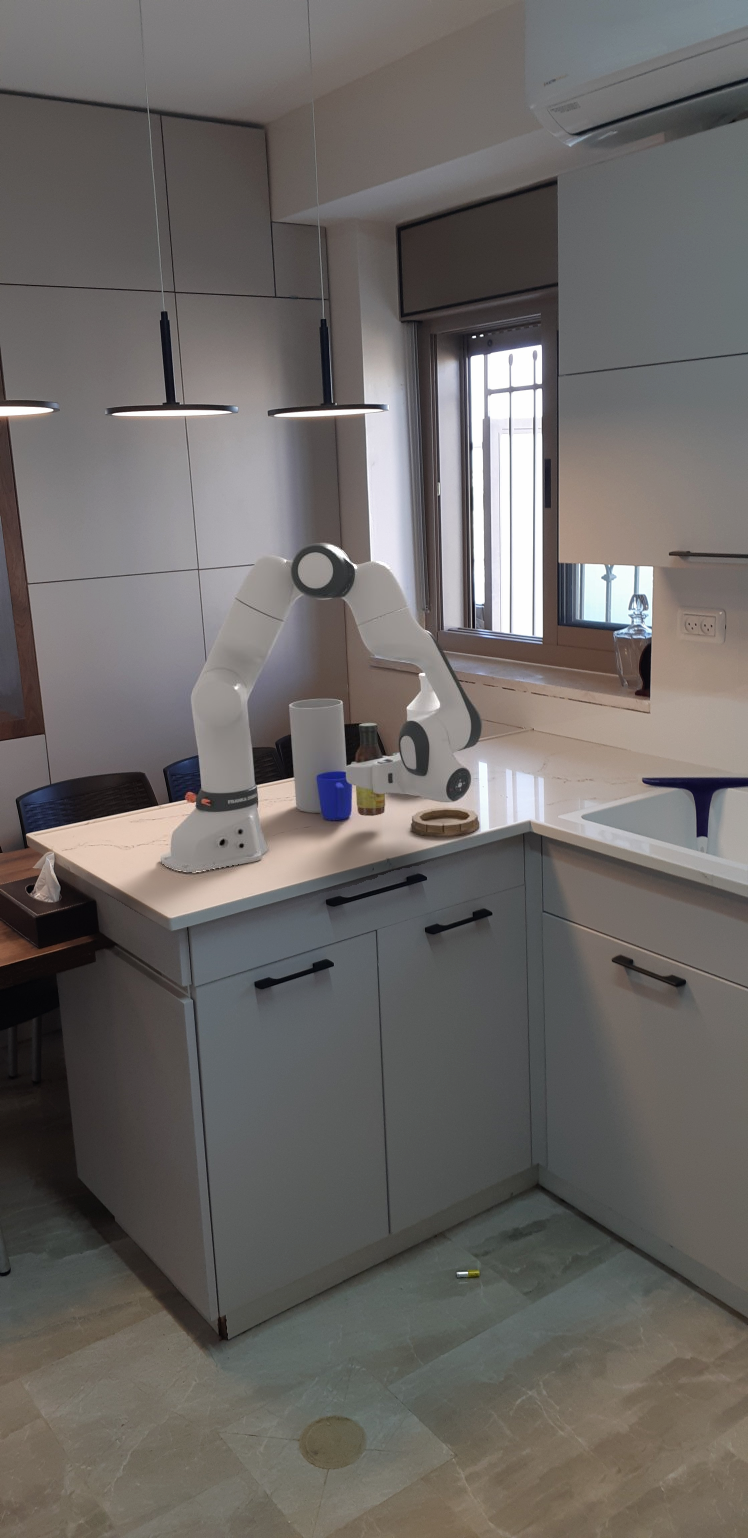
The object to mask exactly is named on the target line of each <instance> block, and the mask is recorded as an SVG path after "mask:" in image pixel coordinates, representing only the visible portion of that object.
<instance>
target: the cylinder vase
mask: <svg viewBox="0 0 748 1538" xmlns="http://www.w3.org/2000/svg"><path fill="white" fill-rule="evenodd" d="M343 704H344V703H343V701H342V700H339V699H334V698H314V699H312V698H311V699H305V700H299V701H294V702H292V703H290V704H289V705H288V706H289V708H288V709H289V710H288V711H289V722H290V735H291V736H290V737H291V751H292V765H293V779H294V794H295V806H296V808H297V810H299V811H301V812H303V813H309V814H322V813H321V807H320V800H319V793H318V786H317V779H316V777H317V775H319V774H322V773H326V772H334V771H343V772H346V767H347V755H346V754H347V753H346V737H345V721H344V719H345V718H344V705H343Z"/></svg>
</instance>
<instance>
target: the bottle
mask: <svg viewBox="0 0 748 1538" xmlns="http://www.w3.org/2000/svg"><path fill="white" fill-rule="evenodd" d="M418 680H419V682H420V684H419V685H420V691H419V692H418V694H417V695H416V696H415V698H413V700H412V701H411V702H410V703H409V704H408V705H407V707H406V719H407V721H409V720H411V719H414V718H416V717H418V716H420V715H423V714H426V713H429V712H431V711H433V710H436V709H438V708H439V707H440V703H439V700H438V698H437V696H436V694H435V693H434V691H433V689H432V687H431V685H430V683H429V681H428V679H427V677H426V675H425V674H424V672H422V673H419V674H418ZM407 721H406V722H407Z"/></svg>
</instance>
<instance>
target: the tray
mask: <svg viewBox="0 0 748 1538" xmlns="http://www.w3.org/2000/svg"><path fill="white" fill-rule="evenodd" d="M479 828H480V821H479V815H478V814H477V813H476V812H475V811H474V810H471V809H470V810H469V809H466V808H461V807H459V808H458V807H438V808H431V809H426V810H421V811H419V812H416V813H415V814H413V816H411V823H410V830H411V832H413V833H415V834H418V835H421V836H426V837H432V836H433V837H434V838H435V837H436V838H441V837H442V838H449V837H458V836H464V835H467V834H468V835H469V834H471V833H474V832H476V831H477V830H478V829H479ZM475 830H476V831H475ZM473 831H474V832H473ZM433 837H432V838H433Z"/></svg>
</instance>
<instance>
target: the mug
mask: <svg viewBox="0 0 748 1538" xmlns="http://www.w3.org/2000/svg"><path fill="white" fill-rule="evenodd" d="M316 779H317V786H318V793H319V800H320V807H321V813H320V814H321V816H322V817H323V819H324V820H329V821H341V820H346V819H348V818H349V817H350V816H351V815H352V810H353V809H352V807H353V806H352V805H353V804H352V803H353V801H352V800H353V785H352V784H350V783H348V782H347V780H346V772H343V771H334V772H326V773H322V774H319V775H317V777H316Z"/></svg>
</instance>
